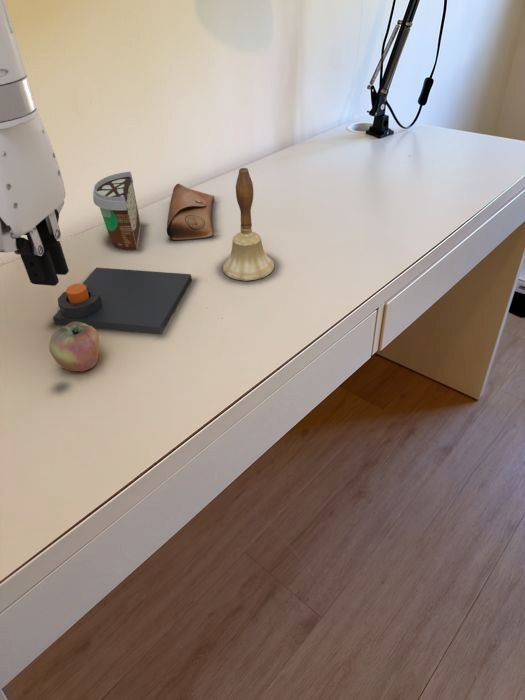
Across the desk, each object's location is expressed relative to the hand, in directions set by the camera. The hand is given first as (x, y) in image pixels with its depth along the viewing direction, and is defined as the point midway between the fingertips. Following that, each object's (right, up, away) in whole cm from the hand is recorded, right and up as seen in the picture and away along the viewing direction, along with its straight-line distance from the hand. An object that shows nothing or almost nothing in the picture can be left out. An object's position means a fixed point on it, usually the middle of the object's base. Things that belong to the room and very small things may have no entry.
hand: (50, 277), depth 59 cm
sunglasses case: (+11, +17, +41) cm, 46 cm away
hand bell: (+22, +5, +26) cm, 34 cm away
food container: (-1, +12, +36) cm, 38 cm away
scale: (+4, -1, +20) cm, 20 cm away
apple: (+1, -10, +8) cm, 13 cm away
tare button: (-2, -1, +16) cm, 16 cm away
